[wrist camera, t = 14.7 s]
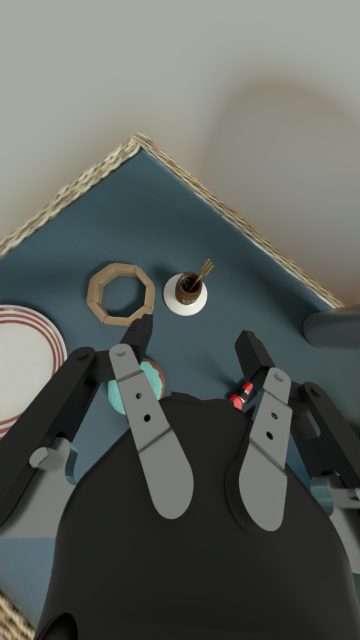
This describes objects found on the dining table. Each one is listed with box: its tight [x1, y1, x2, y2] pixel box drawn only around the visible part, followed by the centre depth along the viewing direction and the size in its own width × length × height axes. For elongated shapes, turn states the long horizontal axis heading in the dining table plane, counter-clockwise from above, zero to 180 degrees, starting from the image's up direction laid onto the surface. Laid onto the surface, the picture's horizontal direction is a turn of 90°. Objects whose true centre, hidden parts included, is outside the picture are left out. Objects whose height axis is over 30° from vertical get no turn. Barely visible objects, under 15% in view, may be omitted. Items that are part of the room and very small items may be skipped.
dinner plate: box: [0, 305, 67, 440], centre depth 28 cm, size 28×27×3 cm
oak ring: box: [86, 263, 155, 326], centre depth 32 cm, size 14×14×3 cm
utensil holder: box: [175, 259, 214, 305], centre depth 28 cm, size 6×6×12 cm
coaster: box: [164, 273, 207, 316], centre depth 34 cm, size 11×11×1 cm
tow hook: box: [228, 383, 253, 410], centre depth 26 cm, size 8×13×9 cm
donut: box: [108, 357, 165, 415], centre depth 29 cm, size 12×12×4 cm
